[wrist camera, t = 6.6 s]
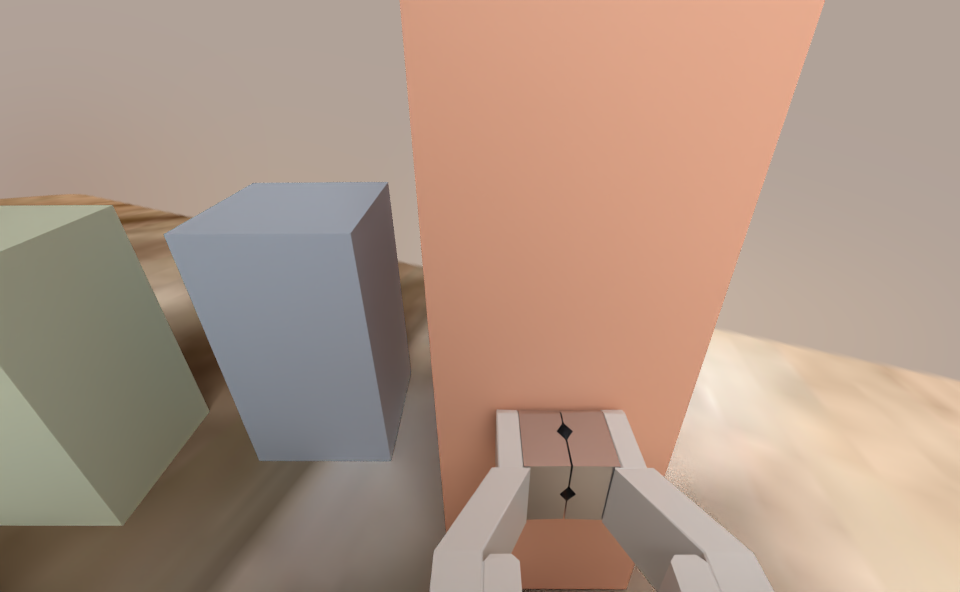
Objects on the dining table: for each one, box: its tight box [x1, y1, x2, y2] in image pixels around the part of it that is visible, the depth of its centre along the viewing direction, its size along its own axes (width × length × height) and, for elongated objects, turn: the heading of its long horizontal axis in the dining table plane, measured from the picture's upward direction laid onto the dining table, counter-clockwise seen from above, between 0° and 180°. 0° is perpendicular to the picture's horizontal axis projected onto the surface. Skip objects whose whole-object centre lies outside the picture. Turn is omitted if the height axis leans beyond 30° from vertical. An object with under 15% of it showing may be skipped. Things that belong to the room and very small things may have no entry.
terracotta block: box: [400, 0, 825, 589], centre depth 17 cm, size 6×16×18 cm, turn 0°
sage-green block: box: [0, 205, 210, 526], centre depth 16 cm, size 6×6×11 cm
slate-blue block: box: [163, 182, 411, 461], centre depth 19 cm, size 6×6×11 cm
